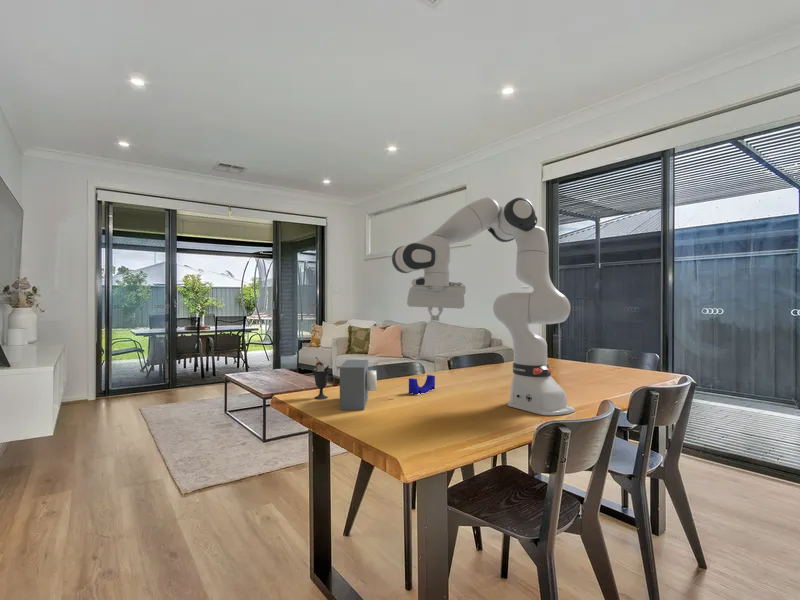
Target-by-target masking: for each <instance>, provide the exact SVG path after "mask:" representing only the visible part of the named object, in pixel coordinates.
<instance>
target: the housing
mask: <svg viewBox="0 0 800 600" xmlns="http://www.w3.org/2000/svg"><path fill="white" fill-rule="evenodd" d="M368 370H369V359H346V360H345V361H344V362H343V363H342V364H341V365H340V366H339V411H364V410H365V408H366V405H367V402H368V399H369V391H367V384H366V377H367V371H368Z"/></svg>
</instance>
